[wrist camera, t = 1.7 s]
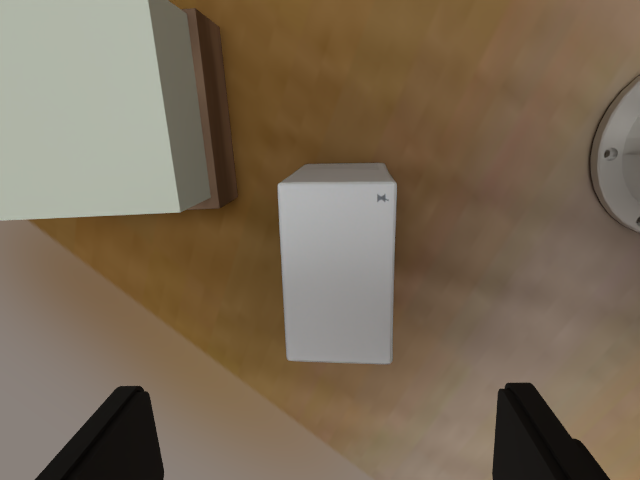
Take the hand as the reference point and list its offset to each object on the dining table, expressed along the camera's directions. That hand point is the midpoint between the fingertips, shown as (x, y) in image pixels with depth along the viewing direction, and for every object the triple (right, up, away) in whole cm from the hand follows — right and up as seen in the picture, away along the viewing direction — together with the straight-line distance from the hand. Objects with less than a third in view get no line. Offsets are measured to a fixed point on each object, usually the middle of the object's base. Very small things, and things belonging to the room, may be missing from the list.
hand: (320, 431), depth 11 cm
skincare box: (+2, +6, +21) cm, 22 cm away
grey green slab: (-13, +13, +15) cm, 24 cm away
